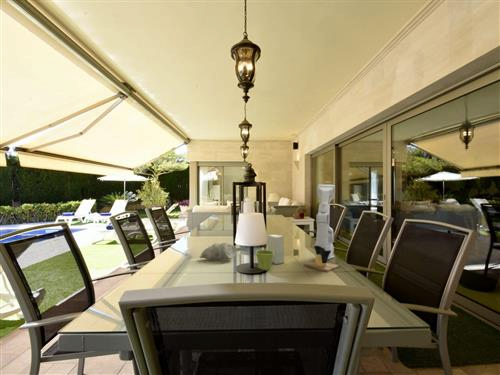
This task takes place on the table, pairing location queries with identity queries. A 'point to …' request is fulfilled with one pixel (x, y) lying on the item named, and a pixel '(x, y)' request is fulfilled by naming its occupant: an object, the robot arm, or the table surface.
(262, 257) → the plant pot
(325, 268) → the post board
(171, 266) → the table surface
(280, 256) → the skincare box
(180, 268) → the table surface
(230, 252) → the seashell
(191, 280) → the table surface
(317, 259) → the cap
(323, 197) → the robot arm
